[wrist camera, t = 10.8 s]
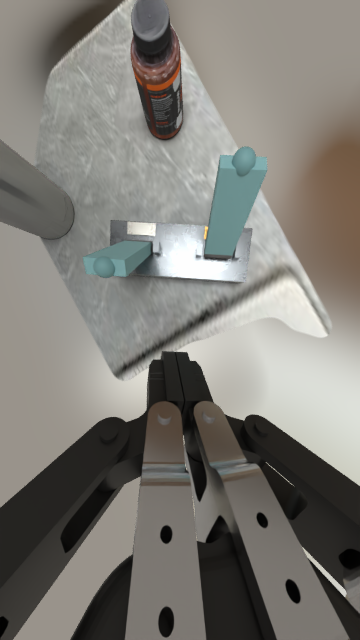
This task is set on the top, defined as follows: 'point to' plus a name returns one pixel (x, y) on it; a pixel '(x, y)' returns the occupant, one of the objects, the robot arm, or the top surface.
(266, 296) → the top surface
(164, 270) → the switch box
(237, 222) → the outer lever
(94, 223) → the top surface
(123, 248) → the inner lever
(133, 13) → the supplement bottle
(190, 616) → the robot arm
